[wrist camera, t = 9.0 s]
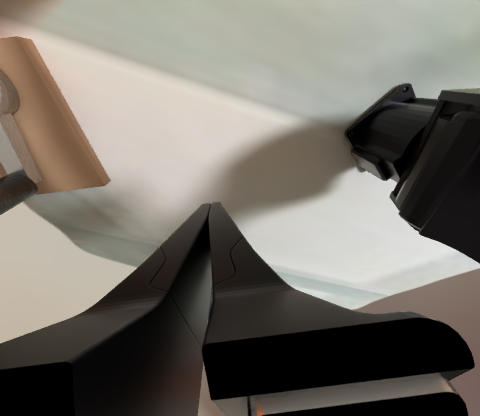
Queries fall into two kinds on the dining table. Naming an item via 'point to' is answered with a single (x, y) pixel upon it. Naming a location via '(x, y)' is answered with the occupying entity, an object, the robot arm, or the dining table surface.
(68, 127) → the base
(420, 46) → the dining table surface
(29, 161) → the lever
